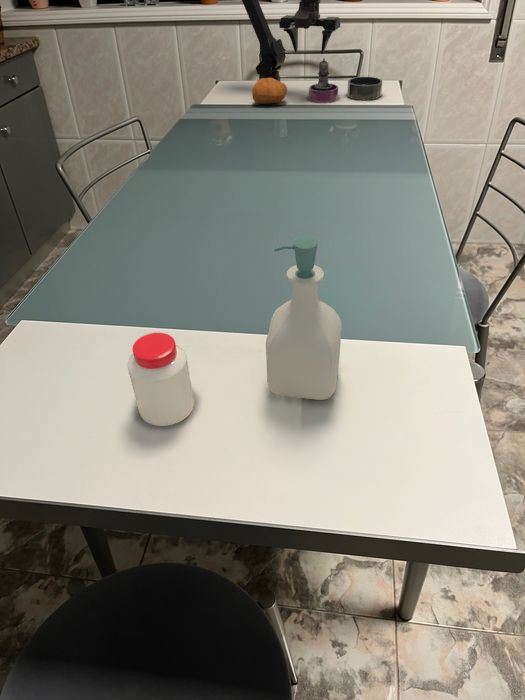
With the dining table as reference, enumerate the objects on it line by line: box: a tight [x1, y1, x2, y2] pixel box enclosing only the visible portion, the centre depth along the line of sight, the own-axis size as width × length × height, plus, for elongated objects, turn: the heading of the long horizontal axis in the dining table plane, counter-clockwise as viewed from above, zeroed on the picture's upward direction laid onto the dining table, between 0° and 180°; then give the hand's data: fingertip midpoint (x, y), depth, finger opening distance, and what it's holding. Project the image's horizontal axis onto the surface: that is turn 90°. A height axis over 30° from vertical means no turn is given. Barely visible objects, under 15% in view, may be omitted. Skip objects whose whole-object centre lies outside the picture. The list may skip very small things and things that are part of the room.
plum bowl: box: [308, 83, 339, 104], centre depth 184 cm, size 10×10×4 cm
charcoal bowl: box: [346, 76, 383, 101], centre depth 185 cm, size 11×11×4 cm
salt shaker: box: [314, 57, 332, 91], centre depth 181 cm, size 6×6×12 cm
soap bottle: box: [265, 236, 343, 401], centre depth 73 cm, size 10×10×23 cm
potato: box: [251, 78, 288, 105], centre depth 181 cm, size 9×11×8 cm
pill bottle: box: [127, 332, 195, 427], centre depth 74 cm, size 8×8×11 cm
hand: (309, 53), depth 180 cm, fingers open, 9 cm apart
